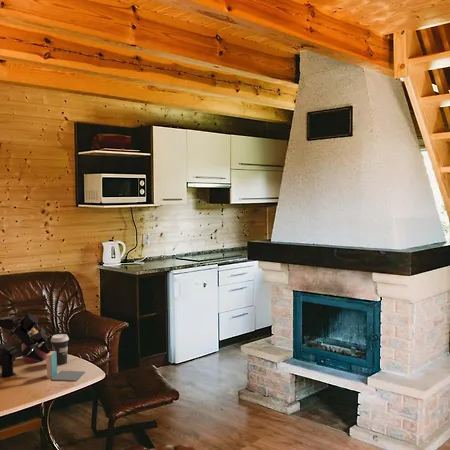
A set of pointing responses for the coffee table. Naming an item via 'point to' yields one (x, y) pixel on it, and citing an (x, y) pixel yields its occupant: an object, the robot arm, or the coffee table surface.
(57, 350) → the coffee cup
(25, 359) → the canister
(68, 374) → the mat
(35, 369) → the coffee table surface
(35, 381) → the coffee table surface
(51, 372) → the tile
